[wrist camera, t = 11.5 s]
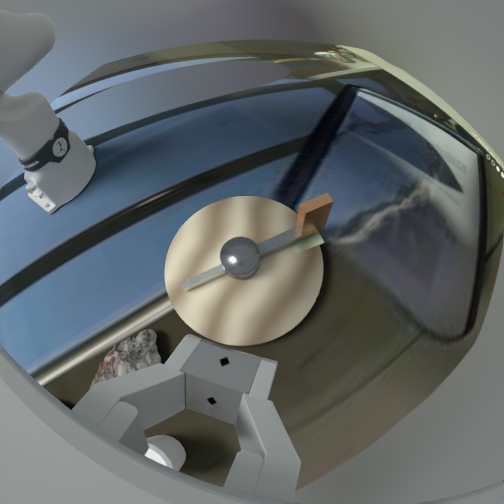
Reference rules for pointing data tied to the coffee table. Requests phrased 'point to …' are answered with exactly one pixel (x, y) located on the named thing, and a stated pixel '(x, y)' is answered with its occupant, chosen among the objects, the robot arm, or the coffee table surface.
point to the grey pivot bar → (265, 244)
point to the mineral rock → (129, 356)
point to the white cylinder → (166, 451)
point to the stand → (248, 290)
